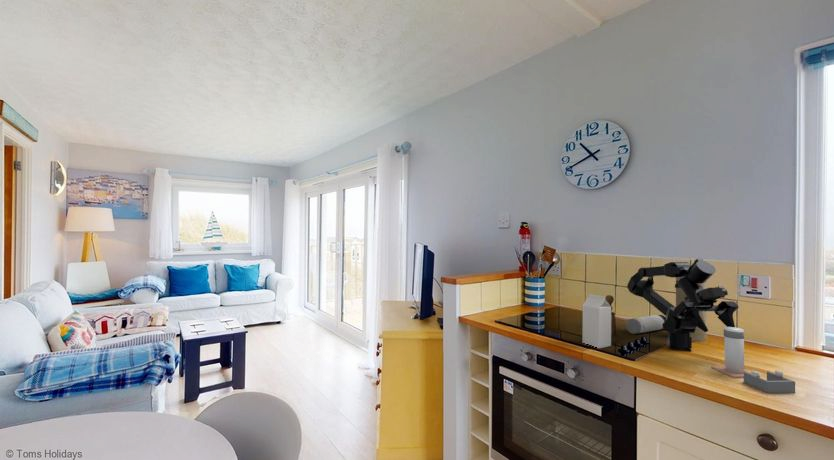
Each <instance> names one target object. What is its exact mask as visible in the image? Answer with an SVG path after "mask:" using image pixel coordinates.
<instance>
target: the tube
mask: <svg viewBox="0 0 834 460" xmlns="http://www.w3.org/2000/svg"><path fill="white" fill-rule="evenodd" d="M680 278H681V277H675V282H676V281H679V279H680ZM707 282H708V280H707V281H706V282H705V283H700V285H701V286H702V288H703V289H707ZM685 297H686V295H685V294H684V292H683V290H682V289H681V288H675V307H676V306H677V305H678V304H679V303H680V302H681V301H686V300H685V299H684V298H685ZM699 315H700V317H701V318H702V320H703V322H704V323H705V325H706V326H707V311H701V312H700V311H699ZM690 337H691V338H692V342H697V343H698V342H699V343H702V342H706V341H707V332H704V331H703V330H701V329H700V328H698V327H697V326H696V329H695V332H694V333H690Z"/></svg>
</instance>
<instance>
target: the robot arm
mask: <svg viewBox="0 0 834 460" xmlns="http://www.w3.org/2000/svg"><path fill="white" fill-rule="evenodd" d="M716 271H717V269H716V267H715V266H714V265H713V264H711V263H710V262H708V261H705V260H703V258H696V259H695V260H694V261H693V263H692V264H691V263H690V262H687V261H669V262H667V263H665V264H664V265H661V266H651V267H649V266H648V267H647V266H646V267H639V268H638V269H637V272H636V273H635V274H633V275H632V276H631V277H630V279H629V281H628V282H627V287H626V288H627V290H628V292H630V293H631V294H633V296H638V297H640V298H643V299H644V300H645V301H647V302H648V303H649V304H651V306H653V307H654V308H655V309H656V310H658V311H659V312H660V313H661V314H662V315H663V316H665V317H666V321H665V322H664V323H663V324H662V325H663V329H662V330H663V331H665V332H667V342H666V346H667V347H668V348H669V349H671V350H677V351H683V352H684V351H686V352H692V348H693V347H692V342H693V341H692V338H691V337H690V333H694V332H695V329H696V326H697V327H698V328H700V329H701V330H703V331H704V332H706V333H708V331H709V329H708V327H707V324H706V325H705V323H704V322H703V320H702V318H701V317H700V315H699V311H700V312H701V311H706V312H714V314H715V315H717V319H718V320H719V321H720V322H721V323H723V325H725V327H736V325H735V321H734V320H735V319H734V313H736V311H737V310H738V309H739V305H738V304H737V303H736V301H733V300H722V301H720V302H719V303H718V304H717V305H715V304H716V303H717V302H718V299H724V298H726V296H728V295H729V293H728V290H727V288H726V287H725V286H723V285H718V286H714V287H706V289H703V288H702V286H701V285H700V283H705V282H706V281H707V282H708V280H709V279H710V278H711V277H712V276H714V274H715V273H716ZM663 276H665V277H668V278H676V277H681V278H680V279H679V281H676V280H675V284H674V288H675V289H676V288H681V289H682V290H683V292H684V294H685V295H686V297H685V298H684V299H685V300H686V301H681V302H680V303H679V304H678V305H677V306H676V305H673V304H672V303H671V302H670V301H668V300H667V299H665V298H664V297H663V296H662V295H660V294H659V293H657V292H656V291H655V290H654V287H653V286H654V284H655V282H654V277H663ZM643 278H647V279H643Z"/></svg>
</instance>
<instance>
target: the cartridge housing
mask: <svg viewBox="0 0 834 460" xmlns="http://www.w3.org/2000/svg"><path fill="white" fill-rule="evenodd" d="M750 372H751V374H750V373H748V372H744V378H743V383H744V384H747V385H749V386H751V387H754V388H756V389H758V390H760V391H762V392H765V393H767V394H780V393H781V394H785V393H786V394H787V393H789V394H790V393H792V394H793V393H796V381H795V380H792V379H789V378H787V377H784V371H781V370H775V371H774V372H771V371H766V379H764V378H761V376H760V372H759V371H756V370H751V371H750ZM759 376H760V377H759Z"/></svg>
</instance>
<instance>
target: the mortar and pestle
mask: <svg viewBox="0 0 834 460" xmlns="http://www.w3.org/2000/svg"><path fill="white" fill-rule="evenodd" d="M604 297H605V300H606V301H607V302H608V303H609V305H610V306H611V344H618V343H619V342H620V340H619V335H618V334H617V333H616V331H615V330H616V327H615V326H616V320H615V319H616V318H615V317H616V313H615V312H613V306H612V304H613V302H614V300H615V298H614V296H613V295H606V296H604Z"/></svg>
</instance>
